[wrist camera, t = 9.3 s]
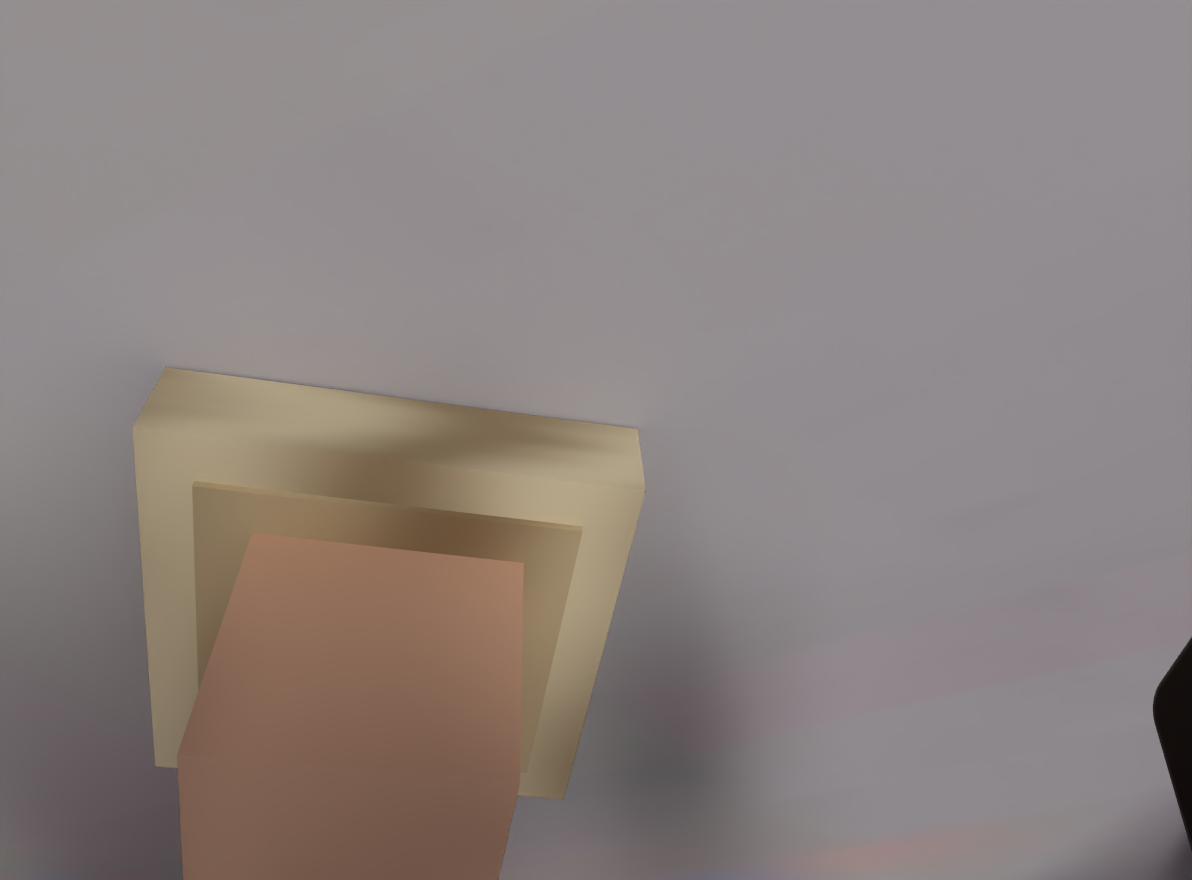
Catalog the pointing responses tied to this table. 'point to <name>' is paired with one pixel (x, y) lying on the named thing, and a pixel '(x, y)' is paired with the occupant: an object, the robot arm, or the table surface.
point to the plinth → (383, 524)
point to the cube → (356, 718)
